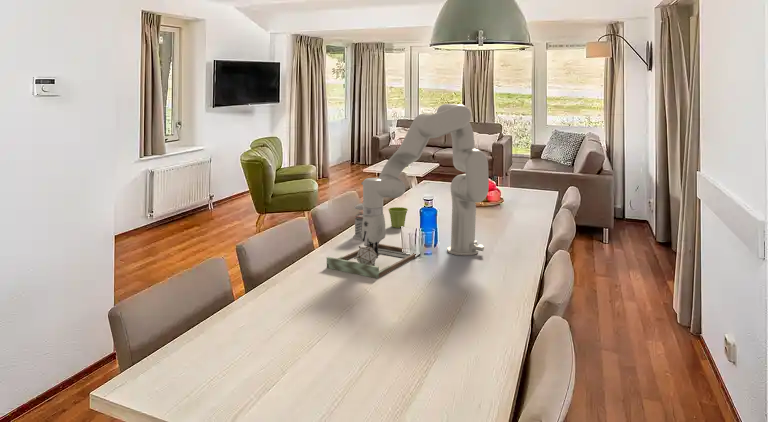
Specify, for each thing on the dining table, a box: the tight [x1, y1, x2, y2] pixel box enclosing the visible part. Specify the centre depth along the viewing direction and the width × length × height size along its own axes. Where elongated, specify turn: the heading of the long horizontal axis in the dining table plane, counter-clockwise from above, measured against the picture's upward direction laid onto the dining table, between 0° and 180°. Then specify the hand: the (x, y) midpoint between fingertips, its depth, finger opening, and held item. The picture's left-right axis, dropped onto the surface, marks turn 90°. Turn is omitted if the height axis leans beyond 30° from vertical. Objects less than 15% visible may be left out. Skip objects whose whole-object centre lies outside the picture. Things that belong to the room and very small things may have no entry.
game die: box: [353, 245, 380, 266], centre depth 197 cm, size 9×8×10 cm
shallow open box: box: [326, 243, 416, 279], centre depth 204 cm, size 22×33×4 cm
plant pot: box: [387, 206, 409, 229], centre depth 256 cm, size 9×9×9 cm
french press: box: [352, 181, 364, 241], centre depth 236 cm, size 10×12×25 cm
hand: (373, 258), depth 203 cm, fingers closed
